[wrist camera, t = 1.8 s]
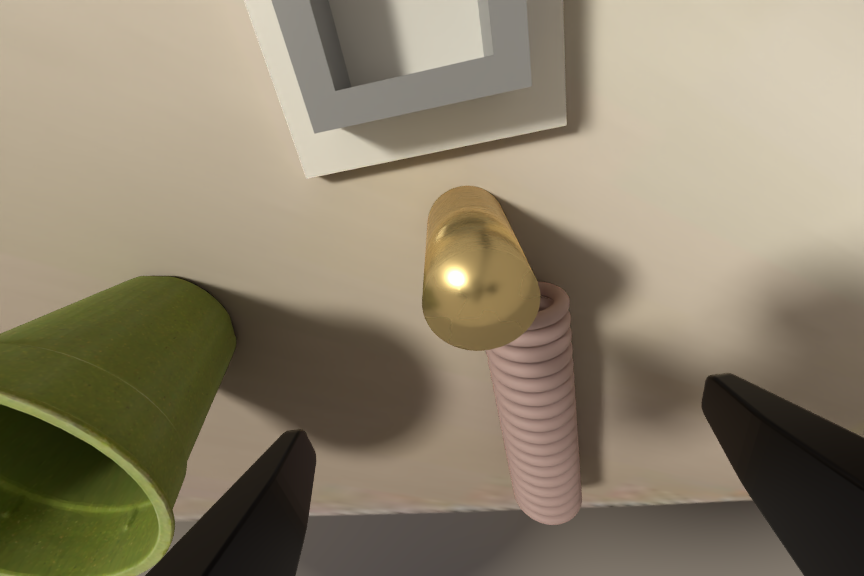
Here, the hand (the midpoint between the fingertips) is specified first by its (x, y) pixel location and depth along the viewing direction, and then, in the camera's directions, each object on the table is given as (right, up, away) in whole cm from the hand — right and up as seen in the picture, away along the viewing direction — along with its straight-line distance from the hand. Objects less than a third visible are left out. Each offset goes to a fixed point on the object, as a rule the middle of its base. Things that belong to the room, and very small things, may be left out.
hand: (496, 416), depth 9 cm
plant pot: (-17, +1, +15) cm, 22 cm away
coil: (+5, -3, +17) cm, 18 cm away
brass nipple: (0, +6, +11) cm, 13 cm away
